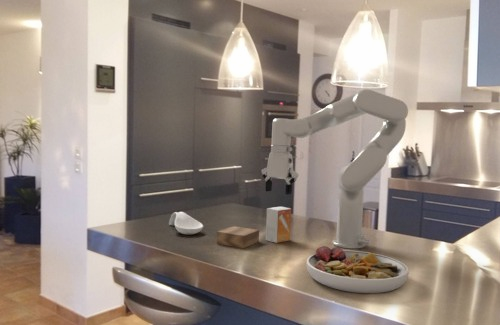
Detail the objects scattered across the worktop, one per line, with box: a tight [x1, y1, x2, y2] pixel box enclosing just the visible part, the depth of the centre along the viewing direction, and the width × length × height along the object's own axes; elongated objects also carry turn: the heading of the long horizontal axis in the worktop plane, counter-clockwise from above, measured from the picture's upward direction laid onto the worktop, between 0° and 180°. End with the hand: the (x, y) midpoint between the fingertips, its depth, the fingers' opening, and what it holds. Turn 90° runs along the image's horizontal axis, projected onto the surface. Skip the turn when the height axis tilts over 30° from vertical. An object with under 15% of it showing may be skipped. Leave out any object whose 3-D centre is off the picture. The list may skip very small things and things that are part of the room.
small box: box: [265, 206, 292, 244], centre depth 187 cm, size 8×6×13 cm
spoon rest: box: [168, 211, 204, 236], centre depth 200 cm, size 24×12×7 cm, turn 31°
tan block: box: [216, 225, 260, 249], centre depth 182 cm, size 12×12×5 cm
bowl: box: [306, 245, 410, 294], centre depth 142 cm, size 30×30×8 cm
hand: (278, 192), depth 186 cm, fingers open, 9 cm apart
